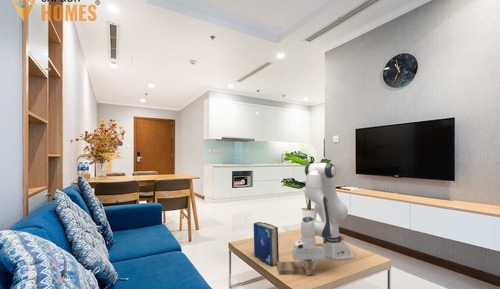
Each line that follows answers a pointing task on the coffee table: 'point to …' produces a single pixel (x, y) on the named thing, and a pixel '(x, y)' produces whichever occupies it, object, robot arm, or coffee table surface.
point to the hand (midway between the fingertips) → (308, 266)
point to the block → (309, 267)
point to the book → (266, 243)
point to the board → (290, 268)
